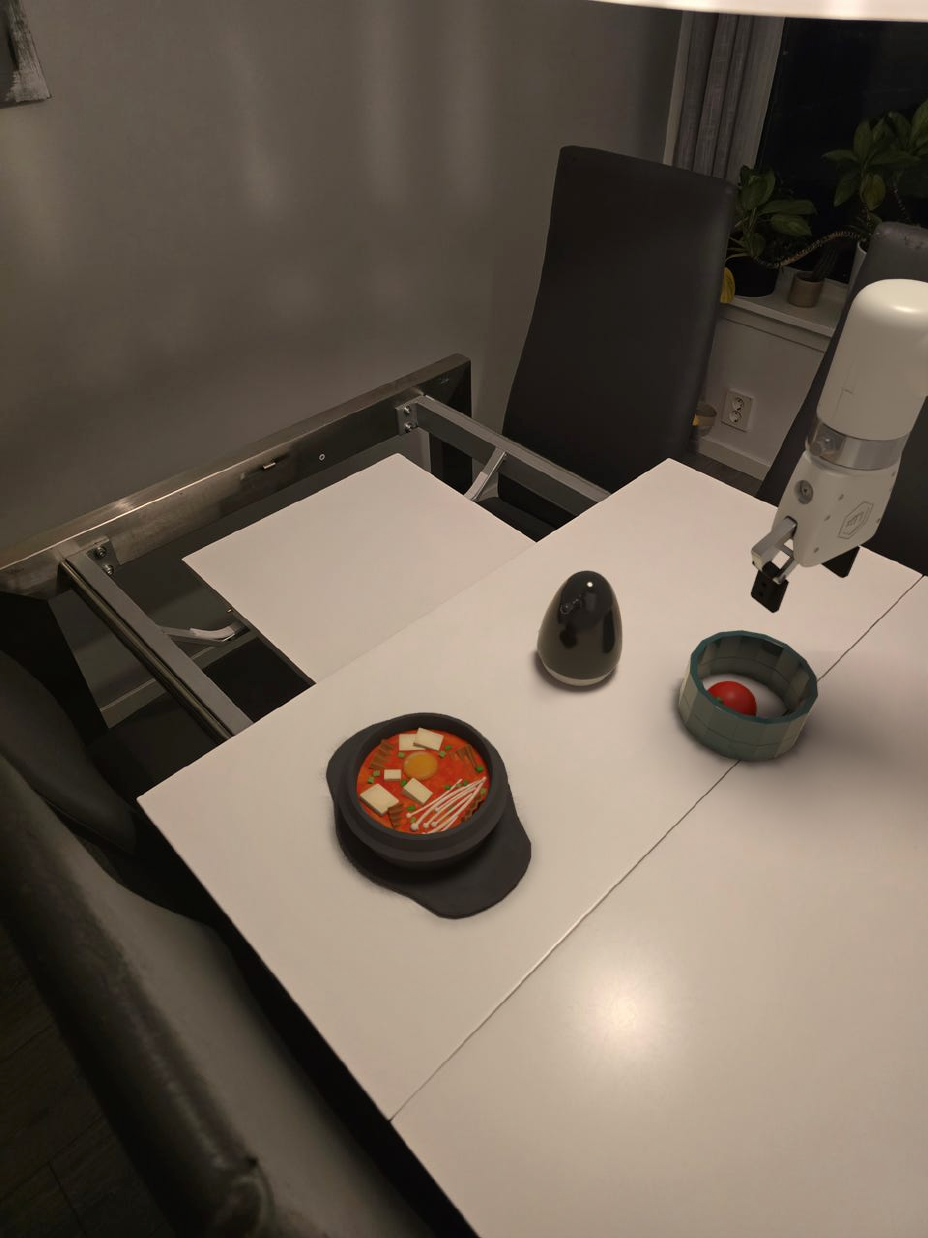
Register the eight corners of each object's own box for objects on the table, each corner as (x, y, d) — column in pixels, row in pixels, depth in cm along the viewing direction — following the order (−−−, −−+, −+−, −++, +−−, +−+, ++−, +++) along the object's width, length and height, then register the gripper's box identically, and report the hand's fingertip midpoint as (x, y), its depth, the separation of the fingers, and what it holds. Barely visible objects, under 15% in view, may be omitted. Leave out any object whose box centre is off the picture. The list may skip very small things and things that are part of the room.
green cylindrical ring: (736, 661, 99) (753, 615, 93) (821, 736, 90) (844, 691, 85) (652, 702, 94) (664, 657, 88) (733, 787, 85) (753, 742, 80)
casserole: (572, 850, 80) (580, 805, 74) (426, 967, 71) (423, 926, 66) (425, 702, 94) (422, 654, 88) (288, 785, 85) (275, 738, 79)
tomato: (755, 681, 91) (736, 666, 86) (770, 730, 88) (751, 717, 83) (706, 696, 94) (684, 682, 89) (719, 744, 91) (697, 733, 86)
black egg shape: (518, 674, 97) (525, 583, 86) (562, 627, 103) (574, 536, 92) (589, 714, 92) (605, 623, 82) (631, 662, 98) (652, 571, 88)
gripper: (820, 489, 61) (764, 642, 73) (960, 428, 67) (888, 577, 79) (749, 445, 66) (708, 595, 78) (886, 391, 72) (828, 538, 84)
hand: (798, 586), depth 78 cm, fingers open, 9 cm apart
